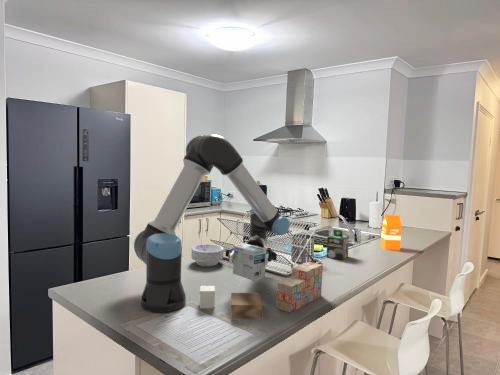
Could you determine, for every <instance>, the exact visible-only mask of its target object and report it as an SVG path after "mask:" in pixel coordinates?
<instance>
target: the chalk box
mask: <svg viewBox="0 0 500 375" xmlns="http://www.w3.org/2000/svg"><path fill="white" fill-rule="evenodd" d="M337 233H339V234H337ZM326 238H327V239H326V258H330V259H335V260H339V261H344V260H345V259H346V258H347V257H349V247H350V246H349V243H350V242H349V238H350V235H345V234H343V230H339V229H333V234H330V235H328V236H327V237H326Z"/></svg>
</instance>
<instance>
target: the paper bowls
mask: <svg viewBox="0 0 500 375" xmlns="http://www.w3.org/2000/svg"><path fill="white" fill-rule="evenodd" d="M224 250H225V249H224V247H223V246H221V245H218V244H216V243H215V244H214V243H201V244H200V243H199V244H195V245H193V246H192V247H191V255H190V256H191V259H192V260H193V261H195V263H196V264H197V265H199V266H200V267H213V266H216V265H218V263H219V262H220V261H221V260H223V258H224Z"/></svg>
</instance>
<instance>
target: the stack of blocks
mask: <svg viewBox="0 0 500 375" xmlns="http://www.w3.org/2000/svg"><path fill="white" fill-rule="evenodd" d="M323 268H324V265H323V264H320V263H315V262H312V261H307V262H303V263H301V264H298V265H296V266H293V267H292V268H291V276H289V277H287V278H284V279H282V280H279V281H277V286H276V289H277V290H276V303H275V307H276V309H279V310H282V311H285V312H287V313H290V314H291V313H293V312H294V311H297V310H299V309H300V308H302V307H303V306H306V305H307V304H309V303H311V302H313V301H314V300H316V299H317V298H320V297H321V296H322V290H323V289H322V285H323Z"/></svg>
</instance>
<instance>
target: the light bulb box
mask: <svg viewBox="0 0 500 375" xmlns="http://www.w3.org/2000/svg"><path fill="white" fill-rule="evenodd" d="M246 243H247V242H245V243H239V244H234V246H233V247H234V258H233V261H232V274H233V275H237V276H240V277H241V278H244V279H248V280H250V281H256V280H259V279H263V278H266V266H265V257H266V249H267V248H266V247H265V248H261V247H257V246H253V245H249V244H246Z"/></svg>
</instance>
